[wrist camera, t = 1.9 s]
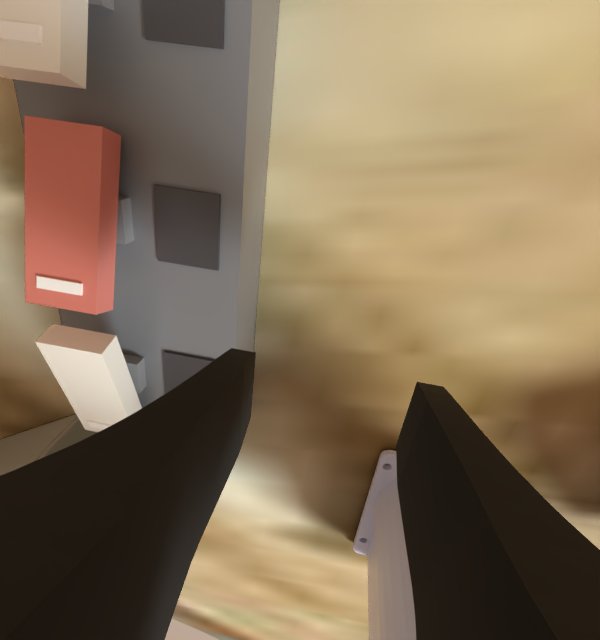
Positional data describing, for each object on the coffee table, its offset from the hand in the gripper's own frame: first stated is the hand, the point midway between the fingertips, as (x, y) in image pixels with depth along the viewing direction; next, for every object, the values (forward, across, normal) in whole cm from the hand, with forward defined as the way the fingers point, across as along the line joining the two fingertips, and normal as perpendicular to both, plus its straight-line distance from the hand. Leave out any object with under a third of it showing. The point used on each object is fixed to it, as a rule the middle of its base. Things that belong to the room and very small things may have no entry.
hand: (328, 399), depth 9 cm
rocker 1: (+5, +10, +5) cm, 12 cm away
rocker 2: (+5, +10, -2) cm, 11 cm away
